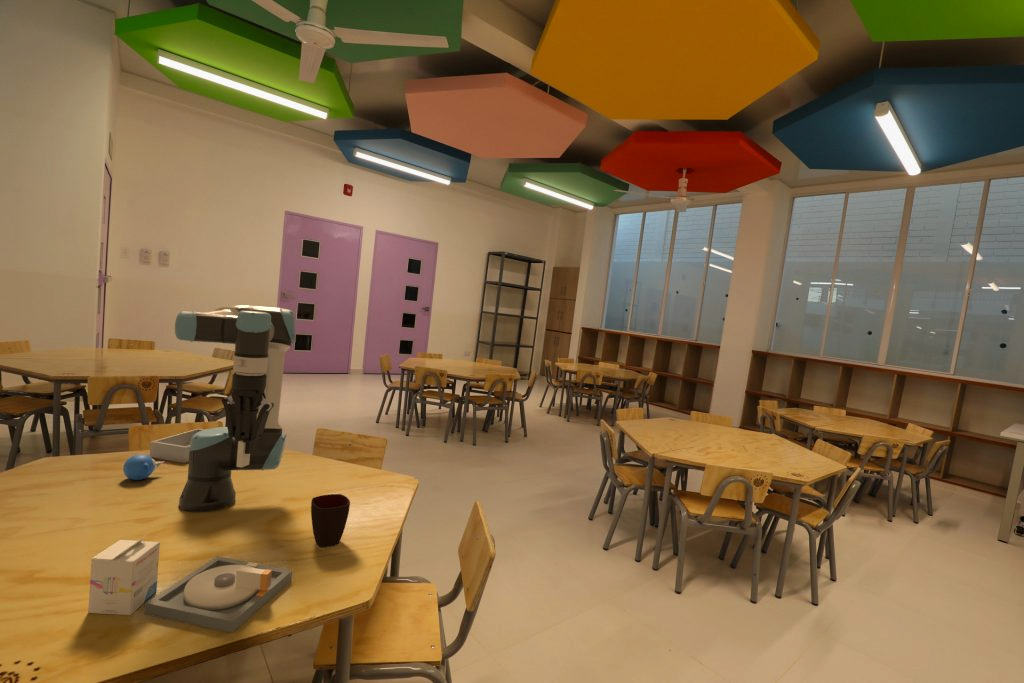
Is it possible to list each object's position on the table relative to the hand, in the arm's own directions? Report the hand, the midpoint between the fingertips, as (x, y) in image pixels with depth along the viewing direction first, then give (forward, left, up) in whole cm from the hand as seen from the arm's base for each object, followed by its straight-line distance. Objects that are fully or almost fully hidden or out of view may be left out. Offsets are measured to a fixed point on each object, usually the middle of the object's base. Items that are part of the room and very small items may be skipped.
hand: (242, 465), depth 122 cm
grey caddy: (-70, +64, -24) cm, 98 cm away
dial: (+9, -14, -23) cm, 28 cm away
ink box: (-9, -22, -25) cm, 34 cm away
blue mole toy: (-62, +35, -25) cm, 75 cm away
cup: (+15, +17, -25) cm, 33 cm away
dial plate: (+8, -14, -24) cm, 29 cm away
